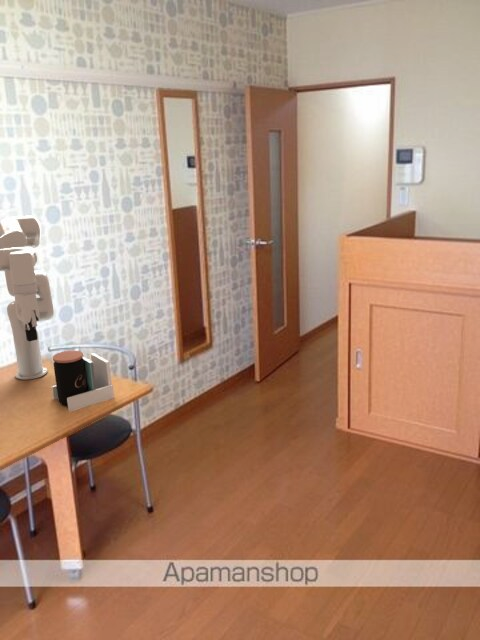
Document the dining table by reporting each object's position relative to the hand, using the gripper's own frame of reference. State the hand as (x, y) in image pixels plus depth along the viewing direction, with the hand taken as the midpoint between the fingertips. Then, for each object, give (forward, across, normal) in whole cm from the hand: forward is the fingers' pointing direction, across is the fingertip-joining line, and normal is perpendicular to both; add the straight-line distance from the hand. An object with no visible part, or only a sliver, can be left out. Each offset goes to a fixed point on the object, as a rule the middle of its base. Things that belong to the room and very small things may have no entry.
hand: (32, 339), depth 205 cm
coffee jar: (+27, 0, +12) cm, 29 cm away
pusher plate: (+27, 0, +17) cm, 32 cm away
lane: (+27, 0, +16) cm, 31 cm away
